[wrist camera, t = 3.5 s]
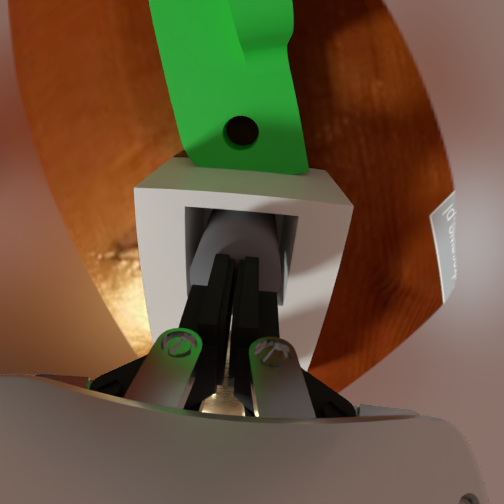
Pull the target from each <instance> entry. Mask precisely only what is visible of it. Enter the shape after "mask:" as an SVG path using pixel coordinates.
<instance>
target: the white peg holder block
mask: <svg viewBox="0 0 504 504" xmlns="http://www.w3.org/2000/svg"><path fill="white" fill-rule="evenodd" d="M134 199H135V214H136V226H137V237H138V247H139V256H140V264H141V272H142V280H143V287H144V294H145V301H146V307H147V313H148V319H149V325H150V331H151V336H152V341H153V345H154V343H155V342H156V340H157V338H158V337H159V336H160V335H161V334H162V333H163V332H165V331H167V330H170V329H173V328H178V327H179V324H180V321H181V317H182V314H183V311H184V308H185V305H186V302H187V299H188V296H189V292H190V289H191V283H190V268H191V265H192V262H193V259H194V257H195V254H196V251H197V249H198V246H199V243H200V241H201V238H202V236H203V233H204V230H205V228H206V225H207V223H208V220H209V218H210V215H211V212H212V210H213V208H214V209H227V210H239V211H250V212H261V213H272V214H275V218H276V227H277V237H278V246H279V256H280V266H281V277H282V282H281V288H280V291H279V293H278V295H277V302H278V318H279V334H280V338H282V339H284V340H286V341H288V342H289V343H290V344H291V345H292V346H293V347H294V349H295V351H296V353H297V357H298V360H299V363H300V366H301V368H303V369H304V370H305V371H307V370H308V367H309V365H310V362H311V359H312V356H313V353H314V350H315V347H316V344H317V341H318V338H319V334H320V331H321V328H322V325H323V322H324V318H325V315H326V312H327V309H328V305H329V302H330V298H331V295H332V291H333V288H334V284H335V281H336V277H337V273H338V270H339V266H340V262H341V258H342V254H343V250H344V246H345V242H346V238H347V234H348V230H349V226H350V222H351V217H352V213H353V208H354V206H353V204H352V203H351V202H350V201H349V199H348V198H347V197H346V195H345V194H344V193H343V191H342V190H341V189H340V188H339V186H338V185H337V184H336V183H335V181H334V180H333V179H332V178H331V176H330V175H329V174H328V173H327V171H326V170H321V169H314V168H309V172H307V173H301V174H295V175H288V174H278V173H268V172H258V171H246V170H234V169H220V168H204V167H197V166H196V165H195V164H194V163H193V162H192V161H191V159H190V158H184V157H172V158H171V159H169V160H168V161H167V162H165V163H164V164H163V165H161V166H160V167H159V168H158V169H156V170H155V171H154V172H152V173H151V174H150V175H149V176H147V177H146V178H145V179H144V180H143V181H141V182H140V183H139V184H138V185H136V186H135V187H134ZM231 325H232V315H231ZM231 325H230V330H231Z"/></svg>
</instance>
